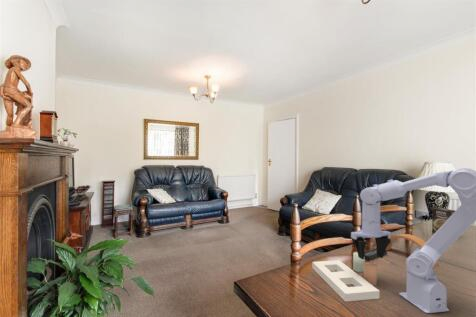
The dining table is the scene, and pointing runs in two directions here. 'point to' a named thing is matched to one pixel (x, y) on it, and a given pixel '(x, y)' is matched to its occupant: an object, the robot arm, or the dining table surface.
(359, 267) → the peg sage
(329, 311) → the dining table surface
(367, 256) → the multiport hub
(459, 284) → the dining table surface
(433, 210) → the coffee box
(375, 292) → the white flat block
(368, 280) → the peg terracotta
